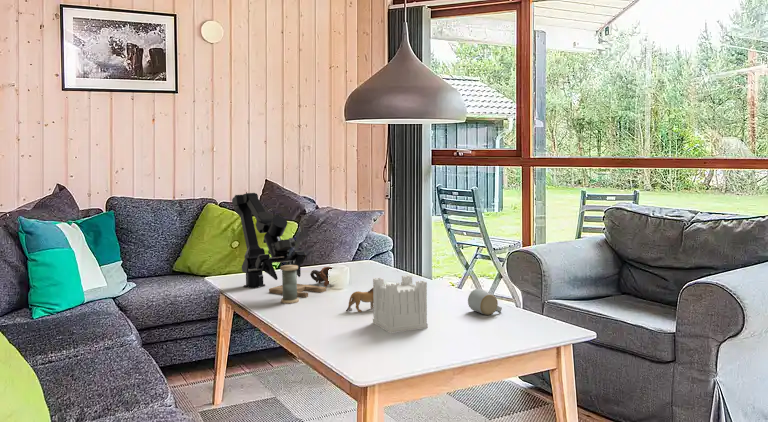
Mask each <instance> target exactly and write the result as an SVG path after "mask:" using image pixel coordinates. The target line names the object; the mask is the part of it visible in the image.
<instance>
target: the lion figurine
mask: <svg viewBox="0 0 768 422" xmlns="http://www.w3.org/2000/svg"><path fill="white" fill-rule="evenodd" d="M361 302H362V303H370V309H371V310H374V307H373V287H371V288H370V289H369V290H368V291H354V292H352V294H350V297H349V299H348V307H347V309H346V310H345V311H346V312H348V311H353V308H352V306H353V305H354V304H355V309H356V310H357V312H358V313H362V312H363V310H362V309H360V307H359V306H360V303H361Z"/></svg>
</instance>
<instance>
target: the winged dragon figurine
mask: <svg viewBox="0 0 768 422" xmlns="http://www.w3.org/2000/svg"><path fill="white" fill-rule="evenodd" d="M332 268H333V267H332V266H324V267H323V268H321V270H316V269H313V270H311V272H310V274H309V275H310V277H311V279H312V280H313V281H315V283H318V284H320V283H323V287H326V288H327V287H328V286H329V285H330V284H329V281H328V276H329V274H328V270H329V269H332Z"/></svg>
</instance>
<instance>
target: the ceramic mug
mask: <svg viewBox="0 0 768 422" xmlns="http://www.w3.org/2000/svg"><path fill="white" fill-rule="evenodd" d="M467 304H468V307H469V308H470V309H471V310H472V311H474V312H477V313H480V314H481V315H485V316H489V315H492V314H494V313H495V312H498V313H499V312H500V313H501V312H502V310H503V309H502V307H501V306H499V302H498V299H497V298H496V296H494V294H492V293H491V292H488V291H486V290H484V289H482V288H475V289H473V290H472V291H471V292H470V293H469V295H468V297H467Z"/></svg>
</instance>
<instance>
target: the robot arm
mask: <svg viewBox="0 0 768 422" xmlns="http://www.w3.org/2000/svg"><path fill="white" fill-rule="evenodd" d="M231 203H232V206H233V208H234V211H235V213H236V214H237V215H238V216H239V217H240V222H241V226H242V227H241V228H242V232H243V235H244V240H245V246H246V247H245V248H246V251H245V253H244V260H243V262H242V264H241V270H242V272H243V273H244V274H245V284H243V287H244V288H251V289H257V288H261V287H265V286H266V284H265V283H264V275H263V273H266V274H268V275H269V276H270V277H271V278H272V279H274V280H275V281H278V279H279V278H278V275H277V273H276V270H275V268H274V265H273V263H288V262H291V265H297V266H298V269H297V277H298V278H301V276H302V275H301V265H302V264H303V263H304V262H305V259H306V257H307V253H306V252H305V250H295V251H294V252H293V254H292V255H289V253H290V249H292V248H294V247H295V246H296V240H295V239H294V237H288V239H281V237H282V236H283V235H284V233H285V231H286V228H287V226H288V223H289V222H288V220H287V219H286V218H285V217H283V216H280V214H279V213H277V214H273V215H272V214H271V213H269V212H267V211H266V209H265V207H264V204H262V202H261V200H260V199H259V195H258V194H257V193H255V192H246V193H243V194H235V195H234V196H233V197H232V199H231ZM253 217H254V218H255V220H256V222H254V218H253ZM254 223H255V224H254ZM255 227H256V229H255ZM256 231H257V232H258V233H259V234H264V236H263V242H262V243H263V244H266V246H267V249H268V251H267V254H266V252H265V251H266V250H265V249H264V248H263V247H260V245H259V241H258V237H257V232H256Z"/></svg>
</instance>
